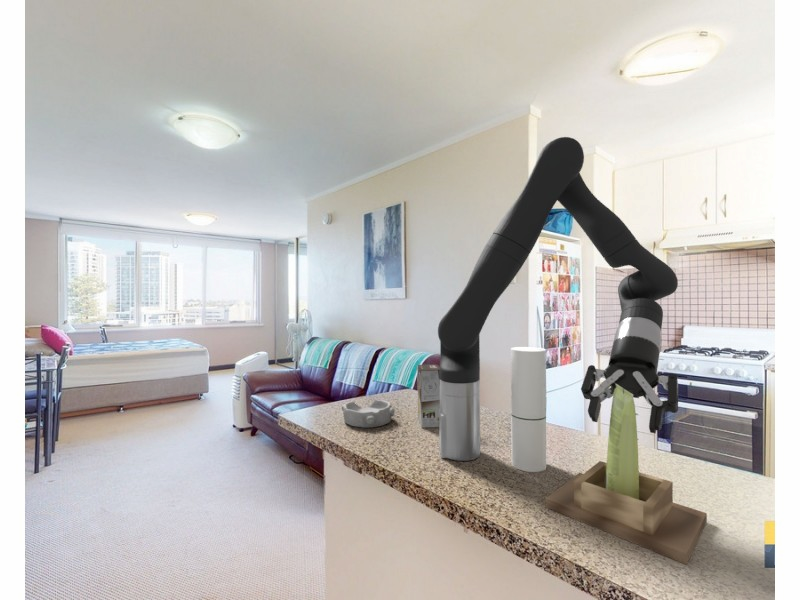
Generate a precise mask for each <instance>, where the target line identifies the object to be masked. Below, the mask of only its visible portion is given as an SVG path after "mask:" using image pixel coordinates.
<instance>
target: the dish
mask: <svg viewBox="0 0 800 600" xmlns="http://www.w3.org/2000/svg"><path fill="white" fill-rule="evenodd" d="M341 410H342V413H343V414H342V415H343V420H344V422H345V423H346V424H347V425H349V426H350V427H351V426H352V427H356V428H358V427H359V428H376V427H377V428H378V427H380V426H384V425H387V424H389V423H390V422H391V421H392V418H393V417H394V416H395V409H394V408H393V407H392V405H391V403H390V402H389V401H386V400H384V399H383V400H382V399H374V401H373V402H372V403H371V404H370V405H369V406H367V407H361V406H359V405H358V404H357V403H355V401H349V402H346V403H344V404H342V405H341Z"/></svg>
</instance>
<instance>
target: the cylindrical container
mask: <svg viewBox="0 0 800 600" xmlns="http://www.w3.org/2000/svg"><path fill="white" fill-rule="evenodd" d="M546 353H547V350H546V349H545V348H543V347H536V346H535V347H533V346H514V347H510V418H511V419H510V420H511V421H510V422H511V423H510V431H511V432H510V435H511V437H510V438H511V439H510V440H511V450H510V451H511V456H510V457H511V465H512V467H514V468H515V469H517V470H520V471H522V472H528V473H539V472H543V471H545V470H546V469H547V372H546V371H547V363H546V362H547V361H546V360H547V356H546V355H547V354H546Z"/></svg>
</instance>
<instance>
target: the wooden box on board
mask: <svg viewBox="0 0 800 600" xmlns="http://www.w3.org/2000/svg"><path fill="white" fill-rule="evenodd" d="M606 469H607V462H605V461H600V460H599V461H598V462H597V463H595V464H594V465H593V466H591V468H589V469H588V470H586V472H584V473H582V472H578V473H577V474H576V475H575V476H573V477H572V478H571V479H569V480H568V481H567V482H565V483H564V484H562V485H561V486H560V487H559V488H557V489H556V490H555V491H554V492H552V493H551V494H549V495H548V496H547V497H546V498H545V508H547V509H549V510H552V511H554V512H557V513H559V514H560V515H561V514H562V515H564V516H566V517H569V518H572V519H574V520H577V521H578V522H582V523H584V524H587V525H588V526H591V527H594V528H597V529H598V530H601V531H603V532H606V533H608V534H611V535H613V536H616V537H619V538H620V539H623V540H625V541H628V542H630V543H633V544H636V545H638V546H641V547H643V548H646V549H648V550H650V551H652V552H655V553H658V554H659V555H662V556H665V557H666V558H669V559H672V560H675V561H678V562H679V563H682V564H684V565H687V564H688V562H689V561H690V559H691V556H692V554H693V552H694V550H695V548H696V546H697V544H698V541H699V539H700V538H701V535H702V533H703V531H704V529H705V527H706V526H707V525H706V524H707V520H708V519H707V518H708V515H707V512H704V511H701V510H699V509H698V510H697V509H696V508H692V507H689V506H685V505H682V504H679V503H676V502H674V501H673V495H674V494H673V493H674V492H673V490H674V489H673V487H674V486H673V485H674V483H673V481H670V480H667V479H663V478H660V477H657V476H653V475H649V474H647V473H643V472H640V471H639V500H638V499H635V498H632V497H629V496H626V495H623V494H620V493H617V492H614V491H611V490H608V489H606Z"/></svg>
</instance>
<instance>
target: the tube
mask: <svg viewBox="0 0 800 600" xmlns="http://www.w3.org/2000/svg"><path fill="white" fill-rule="evenodd" d="M615 384H616V383H615ZM634 400H635V398H634V397H633V394H631V393H630V392H628V391H627V390H625V389H623V388H622V387H621V386H619V385H618V384H616V388H615V389H614V394H613V396H612V401H611V409H610V417H609V428H608V429H609V430H608V439H607V451H606V452H607V454H606V463H607V469H606V489H608V490H611V491H614V492H617V493H620V494H623V495H626V496H629V497H632V498H635V499H638V500H639V472H640V469H639V445H638V443H639V441H638V440H639V439H638V429H637V428H638V426H637V414H636V404H635V401H634Z"/></svg>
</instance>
